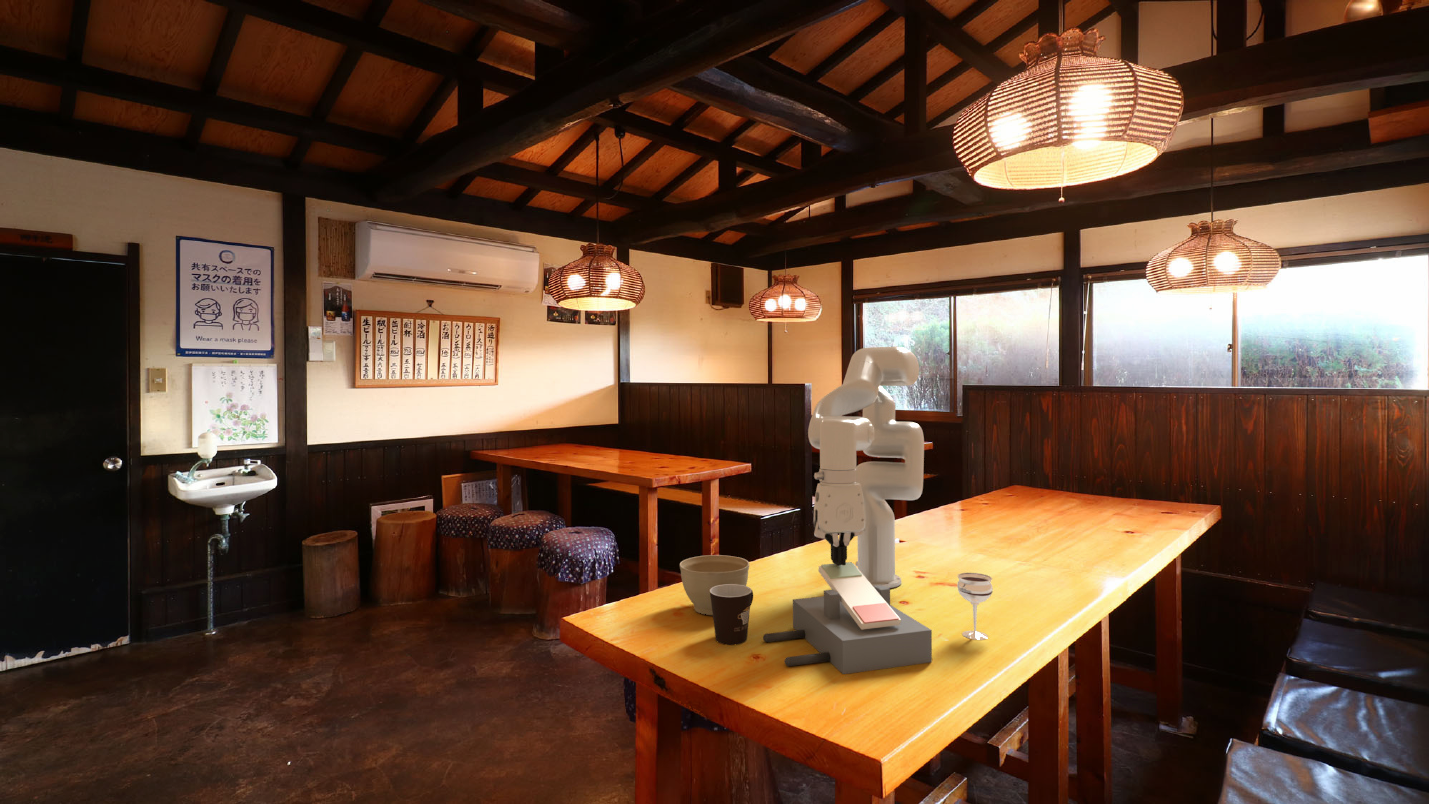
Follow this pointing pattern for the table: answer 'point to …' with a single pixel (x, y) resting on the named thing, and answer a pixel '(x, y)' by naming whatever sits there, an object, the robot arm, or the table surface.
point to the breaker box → (854, 636)
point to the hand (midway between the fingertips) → (838, 563)
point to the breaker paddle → (859, 596)
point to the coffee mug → (731, 612)
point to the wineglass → (975, 596)
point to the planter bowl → (711, 577)
